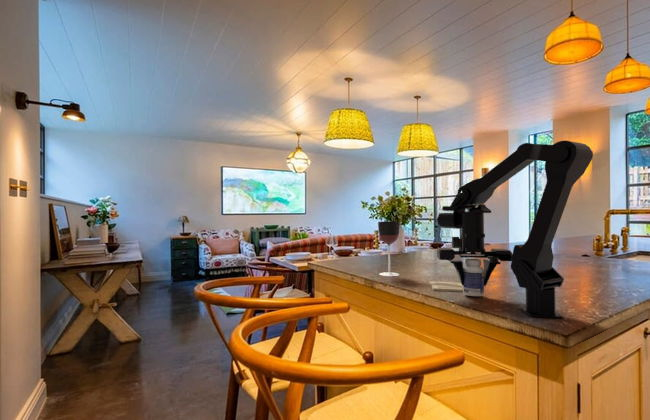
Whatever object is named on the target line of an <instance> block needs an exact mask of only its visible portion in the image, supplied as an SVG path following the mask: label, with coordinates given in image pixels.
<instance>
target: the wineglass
mask: <svg viewBox="0 0 650 420" xmlns="http://www.w3.org/2000/svg"><path fill="white" fill-rule="evenodd" d="M377 224H378V225H377V227H378V235H379V239H380V240H381V241H382V242H383V244H384V243H385V244H386V245H387V256H388V257H387V265H388V266H387V272H381V273H379V275H380V276H383V277H396V276H400V274H399V273H397V272H391V245H392V244H394V243H395V242H396V241H397V240H398V238H399V234H400V221H378V222H377Z"/></svg>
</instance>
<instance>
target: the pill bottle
mask: <svg viewBox="0 0 650 420" xmlns="http://www.w3.org/2000/svg"><path fill="white" fill-rule="evenodd" d="M464 263H465V265H466V266H463V273H464V285H463V294H464V295H465V296H471V297H482V296H484V295H485V286H484V267H481V266H482V261H481V259H479V258H466V259H465V260H464Z"/></svg>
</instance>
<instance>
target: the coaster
mask: <svg viewBox="0 0 650 420" xmlns="http://www.w3.org/2000/svg"><path fill="white" fill-rule="evenodd" d="M428 282H429V285H430V287H431V288H432V291H435V292H436V291H437V292H439V291H440V292H461V293H462V292H463V285H462V284H461V282H460V281H459V282H451V281H428Z"/></svg>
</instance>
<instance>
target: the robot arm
mask: <svg viewBox="0 0 650 420" xmlns="http://www.w3.org/2000/svg"><path fill="white" fill-rule="evenodd" d="M516 148H517V149H515V151H513V152H512V153H510V154H509V155H508V156H506V157H505V158H504V159H502V161H500V162H498V163H497V164H496V165H495V166H493V168H491V169H490V170H488V171H487V172H486V173H485V174H484V175H482V176H481V177H478V178H475V179H473V180H469V181H468V182H466V183H464V184H461V186H459V188H458V189H457V193H456V195H455V197H454V198H453V200H452V202H451V204H450V205H444V206H443V205H442V210H440V211H439V214H438V216H437V223H438V225H439V227H440V228H441V229H455V230H457V229H461V235H460V237H459V236H452V237H451V247H438V249H436V258H437V259H438V260H440V261H448V262H449V263H451V264H453V267H454V268H455V270H456V273H457V275H458V278H459V282H460V283H461V284H462V285H464V273H463V268H464V265H463V264H464V263H463V261H462V260H461V258H466V259H479V258H480V259H482V262H483V270H484V287H486V286H487V284H488V282H489V280H490V277H491V276H492V273H493V271H494V270H495V268H496V267H497V265H501V262H511V263H510V269H511V271H512V273H513V275H514V276H515V278H516V281H517V284H518V286H519V288H523V289H525V306H520V307H519V309H520V310H521V311H523V312H524V313H525V314H527V315H529V317H532V318H548V319H550V318H551V319H564V316H563V314H560V313H559V312H557V311H556V288H561V287H562V285H563V283H564V281H565V278H564V277H563V276H561V274H560V273H559V272H558V271H557V270H556V269H555V268H554V267H553V263H554V252H553V248H552V245H553V242H554V240H555V236H556V233H557V231H558V229H559V228H558V227H559V225H560V222H561V219H562V217H563V213H564V211H565V208H566V205H567V202H568V200H569V197H570V195H571V191H572V188H573V187H574V184H576V182H577V181H579V179H580V178H581V177H582V176H583V175H584V174H585V172H586V170H587V169H588V167H589V166H590V164H591V162H592V160H593V156H594V153H593V150H592V148H591V147H590V146H589V145H587V144H585V143H582V142H577V141H570V140H559V141H557V142H555V143H554V144H546V143H545V144H544V143H543V144H542V143H541V144H540V143H530V142H525V143H522V144H520V145H518V147H516ZM536 161H540V162H545V164H544V172H545V178H546V183H545V185H544V189H543V192H542V196H541V198H540V202H539V203H538V207H537V210H536V213H535V217H534V218H533V219H534V220H533V222H532V226H531V228H530V231H529V234H528V238H527V239H526V241H525V242H524V243H523V244H515V245H514V247H513V250H512V251H511V250H509V249H506V248H491V249H490V250H489V251H486V248H485V238H486V234H485V214H492V210H491V209H490V208H488V207H487V206H486V202H488V200H489V199H490V198H492V196H493V195H494V192H495V191H496V190H497V189H498V188H499V187H500V186H501V185H503V184H505V183H506V182H507V181H509V180H510V179H511V178H513V177H514V176H516V175H517V174H519V173H520V172H521V171H522V170H524V169H525V168H526V167H528V166H530V165H531V164H532V163H534V162H536ZM455 249H458V250H455Z"/></svg>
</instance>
